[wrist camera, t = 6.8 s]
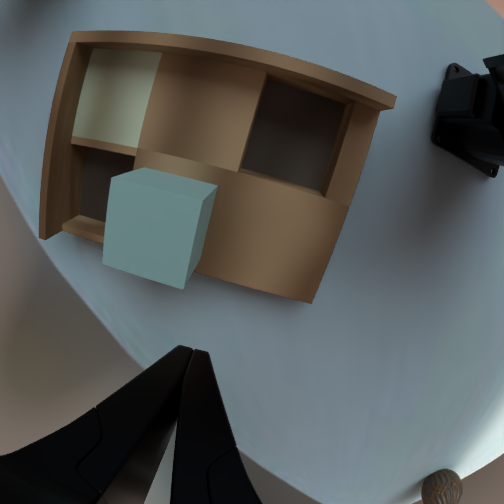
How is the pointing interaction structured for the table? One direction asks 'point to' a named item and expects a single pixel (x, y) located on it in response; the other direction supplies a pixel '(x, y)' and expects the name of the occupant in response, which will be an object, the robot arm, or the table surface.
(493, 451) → the table surface
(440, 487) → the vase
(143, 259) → the block
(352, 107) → the box
